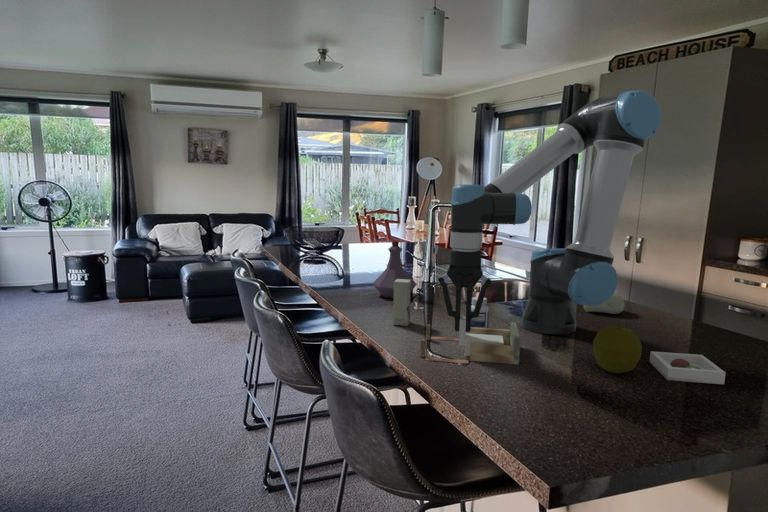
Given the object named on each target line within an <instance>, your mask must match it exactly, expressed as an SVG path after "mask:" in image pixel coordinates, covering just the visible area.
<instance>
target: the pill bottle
mask: <svg viewBox="0 0 768 512" xmlns="http://www.w3.org/2000/svg"><path fill="white" fill-rule="evenodd" d="M477 299H478V296H472V303H471V312H473V311H474V309H475V306H476V303H477ZM487 300H488V299H487V298H486V297H484V299H483V303H482V306H481V309H480V313H479V316H478V317H477V318H472V319H471V327H476V328H489V319H490V318H489V317H490V316H489V315H490V308H489V307H488V306H487V303H488V301H487ZM468 333H470V334H471V328H470V332H468Z"/></svg>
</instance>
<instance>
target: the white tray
mask: <svg viewBox="0 0 768 512" xmlns="http://www.w3.org/2000/svg"><path fill="white" fill-rule="evenodd" d="M674 359H684V360H686V361H688V362H689V363H690V366H696V367H699V368H701V369H692V368H678V367H672V366H671V365H670V363H671V362H672V361H673V360H674ZM649 363H650V364H651V365H652V366H653V368H655V369H656V370H657V372H659V373H660V374H661V376H662V377H664V379H666V381H677V382H688V383H699V384H701V383H702V384H714V385H725V381H726V374H727V373H726V371H724V370H723V369H721V367H719V366H718V365H717V364H715V363H714V362H712V361H711V360H709V358H707V357H705V356H704V355H703V354H693V353H677V352H666V351H665V352H664V351H651V350H650V354H649Z"/></svg>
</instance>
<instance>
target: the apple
mask: <svg viewBox="0 0 768 512" xmlns="http://www.w3.org/2000/svg"><path fill="white" fill-rule="evenodd" d="M642 351H643V345H642V343H641V341H640V338H639V336H638V335H636V333H635V332H634V331H633V330H631V329H630V328H627V327H623V326H620V322H618V323H617V325H616V326H615V325H611V326H604V327H602V329H600V330H599V331H598V332H597V333H596V336H595V337H594V338H593V341H592V354H593V355H594V358H595V360H596V363H597V365H598V366H599V367H600V368H602V369H603V370H605V371H606V372H608V373H612V374H624V373H627V372H630V371H633V370H634V369H635V367H636V366H637V365H638V363H639V361H640V360H641V357H642V356H641V355H642Z"/></svg>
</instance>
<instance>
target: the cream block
mask: <svg viewBox="0 0 768 512" xmlns="http://www.w3.org/2000/svg"><path fill="white" fill-rule="evenodd" d="M470 343H481V344H495V345H504V342H503V336H499V335H484V334H471V333H469V332H466V334H465V346H464V357H465V356H466V357H470Z"/></svg>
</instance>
